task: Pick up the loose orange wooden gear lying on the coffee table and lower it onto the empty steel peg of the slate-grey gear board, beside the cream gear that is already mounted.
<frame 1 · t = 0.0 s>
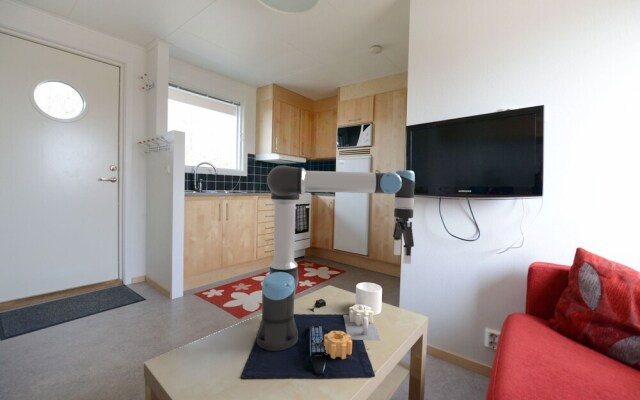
hand: (401, 258, 112), 28 cm above the table, fingers open, 13 cm apart
gear board: (360, 330, 108), on the table
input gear: (337, 350, 94), on the table
black boxy piece: (320, 310, 126), on the table
cup: (368, 312, 124), on the table
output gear: (361, 314, 113), point 4 cm above the table, hinge at 0.0°
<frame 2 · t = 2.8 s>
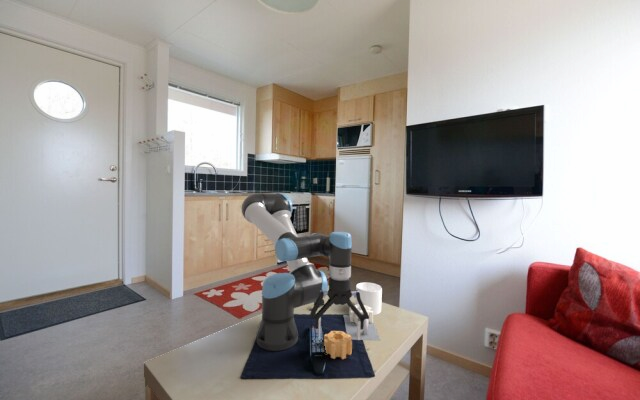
hand: (338, 337, 93), 5 cm above the table, fingers open, 13 cm apart
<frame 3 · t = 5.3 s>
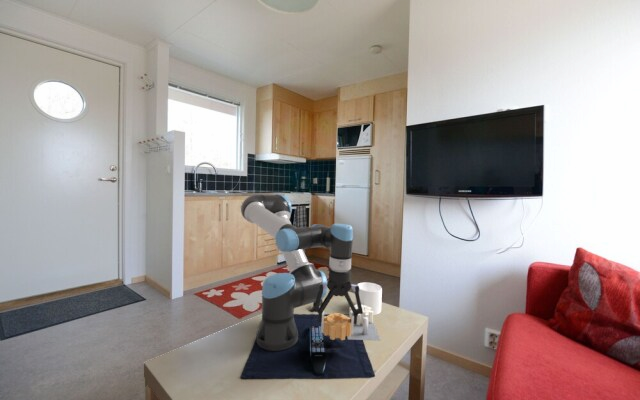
hand: (336, 331, 94), 7 cm above the table, fingers closed on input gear, 10 cm apart
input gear: (336, 332, 94), point 6 cm above the table, touching gripper
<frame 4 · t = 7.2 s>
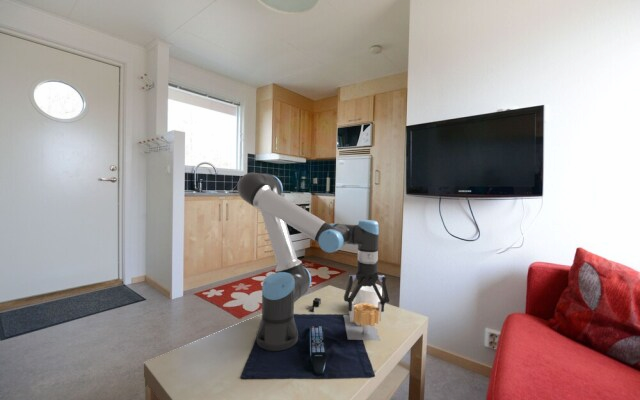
hand: (365, 319, 102), 7 cm above the table, fingers closed on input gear, 10 cm apart
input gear: (365, 320, 102), point 7 cm above the table, touching gripper
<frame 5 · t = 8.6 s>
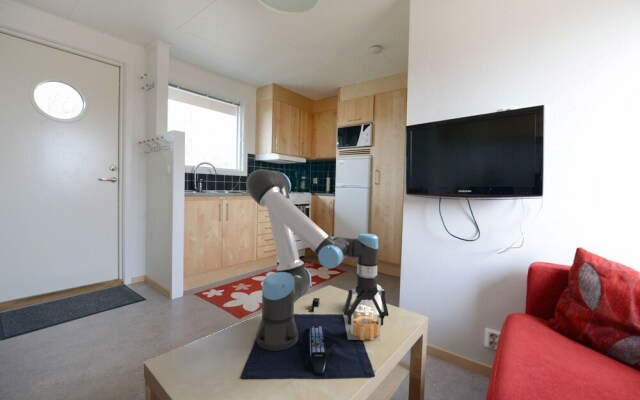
hand: (364, 332, 103), 2 cm above the table, fingers closed on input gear, 10 cm apart
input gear: (364, 333, 103), point 2 cm above the table, touching gripper
when the fingers open (2 cm above the table, at t = 9.2 s): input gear stays where it is, resting on gear board.
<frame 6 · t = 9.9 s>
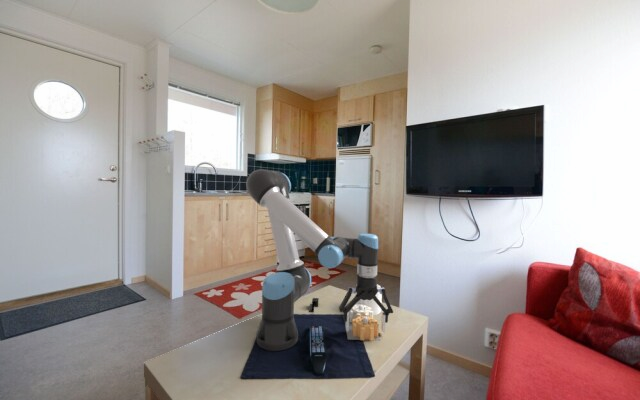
hand: (365, 330, 103), 3 cm above the table, fingers open, 13 cm apart
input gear: (365, 333, 103), point 1 cm above the table, touching gear board
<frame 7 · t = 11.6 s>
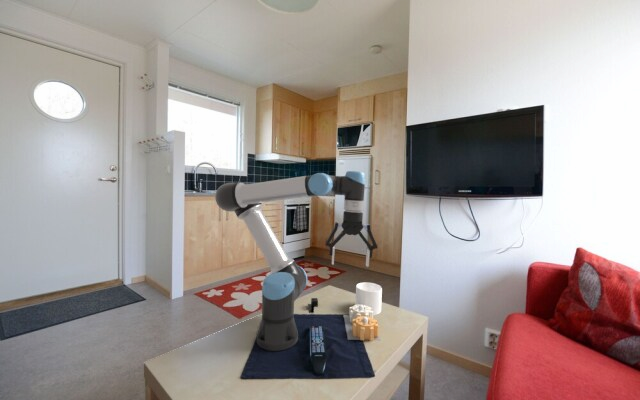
hand: (349, 264, 106), 27 cm above the table, fingers open, 13 cm apart
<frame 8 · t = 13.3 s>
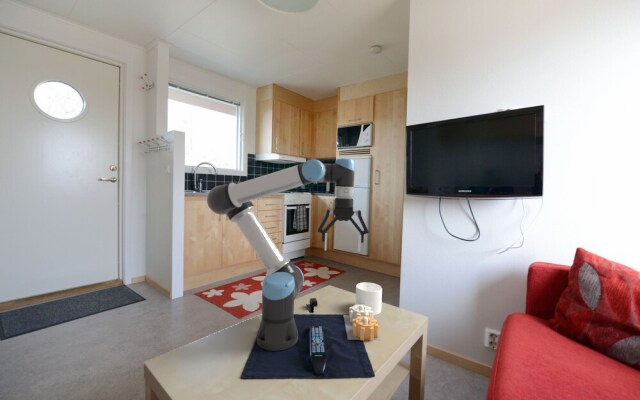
hand: (342, 250, 109), 32 cm above the table, fingers open, 13 cm apart
at the end: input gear 0.0 cm from the target spot, point 1.5 cm above the table; the gripper is holding nothing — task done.
